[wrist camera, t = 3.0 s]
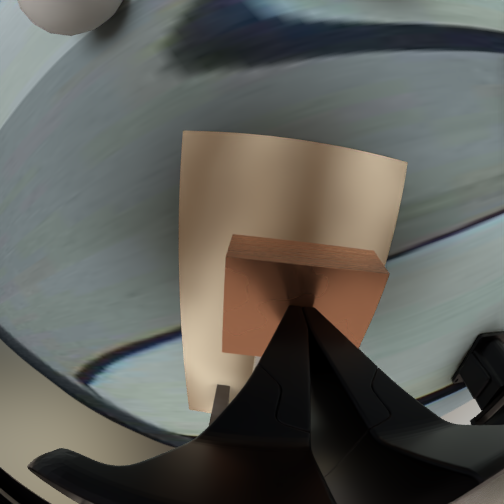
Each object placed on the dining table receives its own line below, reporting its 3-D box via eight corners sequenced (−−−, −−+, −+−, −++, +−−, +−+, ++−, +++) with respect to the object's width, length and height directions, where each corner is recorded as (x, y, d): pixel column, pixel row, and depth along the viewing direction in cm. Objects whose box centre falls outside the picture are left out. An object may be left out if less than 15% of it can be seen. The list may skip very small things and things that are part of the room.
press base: (396, 160, 14) (477, 180, 7) (319, 408, 22) (327, 475, 15) (190, 131, 14) (127, 125, 7) (192, 397, 22) (175, 464, 16)
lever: (368, 243, 10) (391, 277, 7) (288, 439, 17) (289, 465, 15) (234, 227, 10) (224, 260, 8) (224, 434, 17) (220, 460, 15)
